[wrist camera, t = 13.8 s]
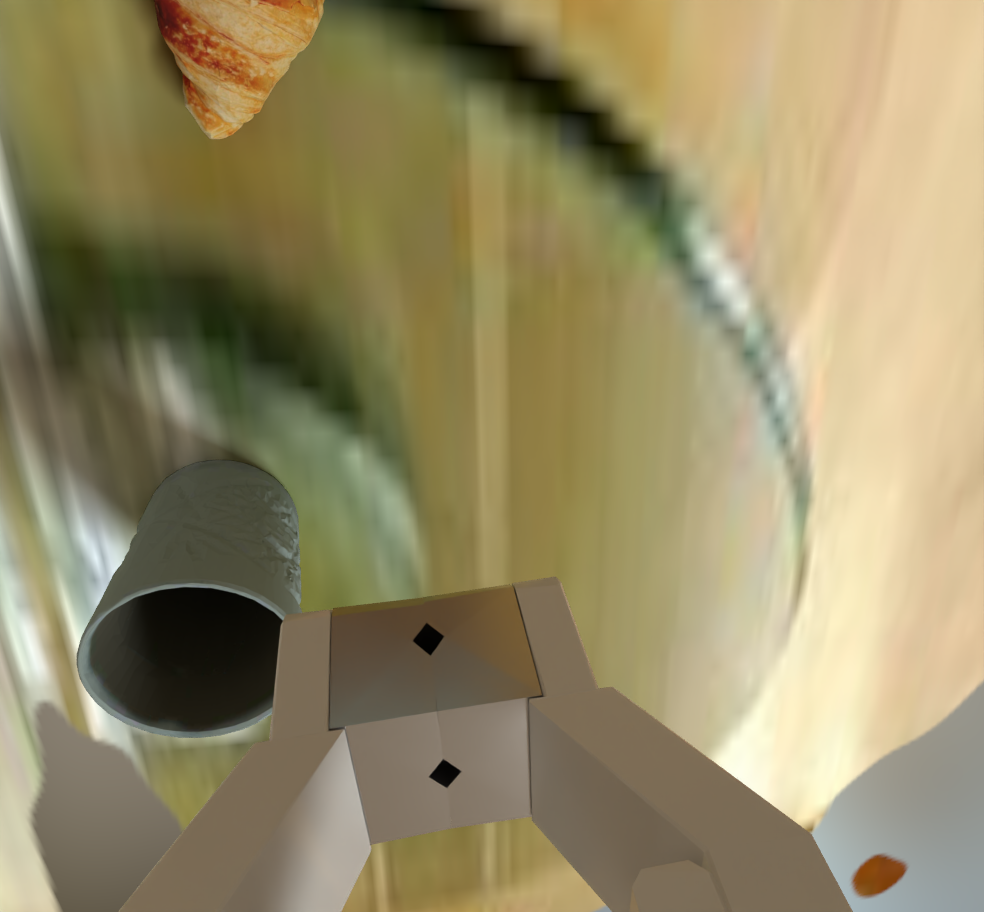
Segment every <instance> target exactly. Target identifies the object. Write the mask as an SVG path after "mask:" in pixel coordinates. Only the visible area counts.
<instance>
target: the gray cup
mask: <svg viewBox="0 0 984 912" xmlns="http://www.w3.org/2000/svg"><path fill="white" fill-rule="evenodd" d="M299 563H300V549H299V527H298V515H297V511H296V507H295V505H294V503H293V500H292V499H291V497H290V495H289V494H288V492H287V491H286V489H285V488H284V487H283V486H282V485H281V484H280V483H279V482H278V481H277V480H276V479H275V478H274V477H272V476H271V475H269V474H268V473H266V472H264V471H262V470H260V469H258V468H256V467H254V466H251V465H248V464H245V463H241V462H236V461H230V460H209V461H204V462H198V463H195V464H192V465H189V466H186V467H184V468H182V469H180V470H178V471H176V472H175V473H173V474H172V475H170V476H169V477H167V478H166V479H165V480H164V481H163V482H162V484H161V485H160V486H159V487H158V488H157V490H156V491H155V493H154V495H153V496H152V498H151V500H150V502H149V504H148V506H147V508H146V510H145V512H144V514H143V516H142V518H141V520H140V522H139V524H138V527H137V534H136V535H135V536H134V538H133V540H132V541H131V544H130V549H129V552H128V553H127V554H126V556H125V559H124V561H123V562H122V564H121V566H120V567H119V568H118V569H117V570H116V572H115V573H114V575H113V576H112V579H111V581H110V583H109V585H108V587H107V589H106V591H105V593H104V595H103V597H102V599H101V601H100V603H99V605H98V606H97V608H96V610H95V612H94V614H93V616H92V618H91V619H90V621H89V623H88V625H87V627H86V629H85V631H84V633H83V635H82V637H81V640H80V644H79V648H78V652H77V668H78V672H79V676H80V679H81V681H82V683H83V686H84V687H85V689H86V691H87V692H88V693H89V694H90V696H91V697H92V698H93V700H94V701H95V702H96V703H97V704H98V705H99V706H100V707H102V708H103V709H104V710H105V711H106V712H107V713H109V714H110V715H112V716H114V717H115V718H117V719H119V720H120V721H122V722H124V723H126V724H128V725H130V726H133V727H136V728H139V729H141V730H144V731H147V732H150V733H154V734H159V735H164V736H171V737H178V738H202V737H211V736H220V735H224V734H228V733H231V732H235V731H239V730H243V729H245V728H247V727H249V726H252V725H254V724H256V723H258V722H259V721H261V720H263V719H264V718H266V717H268V716H269V715H271V714H272V708H273V698H274V688H275V678H276V668H277V658H278V648H279V638H280V628H281V624H282V622H283V619H284V617H285V615H287V614H296V613H302V611H301V608H300V606H299V604H300V602H301V579H300V576H301V568H300V567H299Z"/></svg>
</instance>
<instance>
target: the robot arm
mask: <svg viewBox="0 0 984 912" xmlns="http://www.w3.org/2000/svg"><path fill="white" fill-rule="evenodd" d="M450 817H451V818H450ZM525 817H532V821H533V822H534V823H535V824H536V825H537V827H538V828H539V829H540V830H541V831H542V832H543V833H544V835H545V836H546V837H547V838H548V839H549V840H550V841H551V843H552V844H553V845H554V846H555V847H556V848H557V849H558V851H559V852H560V853H561V854H562V855H563V856H564V857H565V858H566V860H567V861H568V862H569V863H570V864H571V865H572V866H573V868H574V869H575V870H576V871H577V872H578V873H579V874H580V876H581V877H582V878H583V879H584V880H585V881H586V882H587V884H588V885H589V886H590V887H591V888H592V889H593V890H594V891H595V893H596V894H597V895H598V896H599V897H600V898H601V899H602V901H603V902H604V903H605V904H606V905H607V906H608V907H609V908H610V910H611V911H612V912H853V911H852V909H851V908H850V906H849V904H848V902H847V900H846V898H845V896H844V895H843V893H842V891H841V889H840V887H839V885H838V883H837V881H836V879H835V878H834V876H833V874H832V872H831V870H830V869H829V866H828V864H827V863H826V861H825V859H824V857H823V855H822V853H821V851H820V849H819V848H818V846H817V844H816V842H815V840H814V838H813V836H812V834H810V833H809V832H808V831H806V830H805V829H804V828H802V827H801V826H800V825H798V824H797V823H796V822H794V821H793V820H792V819H790V818H789V817H788V816H786V815H785V814H784V813H782V812H781V811H779V810H778V809H777V808H775V807H774V806H773V805H771V804H770V803H769V802H767V801H766V800H765V799H763V798H762V797H761V796H759V795H758V794H757V793H755V792H754V791H753V790H751V789H750V788H748V787H747V786H746V785H744V784H743V783H742V782H740V781H739V780H738V779H736V778H735V777H734V776H732V775H731V774H730V773H728V772H727V771H726V770H724V769H723V768H722V767H720V766H719V765H717V764H716V763H715V762H713V761H712V760H711V759H709V758H708V757H707V756H705V755H704V754H703V753H701V752H700V751H699V750H697V749H696V748H695V747H693V746H692V745H691V744H689V743H688V742H686V741H685V740H684V739H682V738H681V737H680V736H678V735H677V734H676V733H674V732H673V731H672V730H670V729H669V728H668V727H666V726H665V725H664V724H662V723H661V722H659V721H658V720H657V719H655V718H654V717H653V716H651V715H650V714H649V713H647V712H646V711H645V710H643V709H642V708H641V707H639V706H638V705H637V704H635V703H634V702H633V701H631V700H630V699H628V698H627V697H626V696H624V695H623V694H622V693H620V692H619V691H618V690H616V689H615V688H614V687H606V688H598V686H597V683H596V680H595V677H594V674H593V671H592V669H591V666H590V663H589V660H588V657H587V654H586V652H585V649H584V646H583V643H582V640H581V637H580V635H579V632H578V629H577V626H576V623H575V620H574V618H573V615H572V612H571V609H570V606H569V603H568V601H567V598H566V595H565V592H564V589H563V586H562V584H561V582H560V581H559V580H558V579H557V578H556V577H550V578H543V579H537V580H531V581H524V582H518V583H512V586H511V585H510V584H509V585H502V586H495V587H489V588H482V589H475V590H469V591H462V592H455V593H449V594H442V595H435V596H429V597H423V598H415V599H407V600H398V601H390V602H381V603H373V604H364V605H356V606H348V607H339V608H333V610H323V611H314V612H305V613H296V614H287V615H285V617H284V619H283V622H282V624H281V628H280V638H279V648H278V658H277V668H276V678H275V688H274V698H273V708H272V718H271V729H270V739H269V741H264V742H258V743H254V744H253V745H252V747H251V748H250V749H249V750H248V752H247V753H246V754H245V755H244V757H243V758H242V759H241V760H240V762H239V763H238V764H237V765H236V766H235V768H234V769H233V770H232V771H231V773H230V774H229V775H228V776H227V778H226V779H225V780H224V781H223V783H222V784H221V785H220V786H219V788H218V789H217V790H216V791H215V793H214V794H213V795H212V796H211V797H210V799H209V800H208V801H207V802H206V804H205V805H204V806H203V807H202V809H201V810H200V811H199V812H198V814H197V815H196V816H195V817H194V819H193V820H192V821H191V822H190V824H189V825H188V826H187V827H186V828H185V830H184V831H183V832H182V833H181V835H180V836H179V837H178V839H177V840H176V841H175V842H174V843H173V845H172V846H171V847H170V849H169V850H168V851H167V852H166V853H165V854H164V856H163V857H162V858H161V860H160V861H159V862H158V863H157V864H156V866H155V867H154V868H153V870H152V871H151V872H150V873H149V874H148V876H147V877H146V878H145V879H144V881H143V882H142V883H141V884H140V885H139V887H138V888H137V889H136V890H135V892H134V893H133V894H132V895H131V897H130V898H129V899H128V900H127V902H126V903H125V904H124V905H123V907H122V908H121V909H120V910H119V912H341V911H342V909H343V907H344V905H345V903H346V901H347V899H348V897H349V894H350V892H351V890H352V888H353V886H354V884H355V882H356V880H357V878H358V876H359V874H360V872H361V870H362V868H363V866H364V864H365V862H366V860H367V858H368V856H369V854H370V852H371V846H370V845H372V844H376V843H381V842H386V841H391V840H396V839H401V838H406V837H411V836H416V835H421V834H426V833H431V832H435V831H440V830H445V829H450V828H457V827H464V826H470V825H477V824H484V823H491V822H498V821H505V820H511V819H518V818H525ZM451 824H452V827H451Z"/></svg>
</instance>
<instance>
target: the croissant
mask: <svg viewBox="0 0 984 912" xmlns="http://www.w3.org/2000/svg"><path fill="white" fill-rule="evenodd" d="M324 1H325V0H154V2H155V8H156V14H157V20H158V26H159V28H160V31H161V33H162V35H163V38H164V39H165V41H166V43H167V45H168V46H169V48H170V49H171V51H172V52H173V53H174V56H175V60H176V64H177V66H178V67H179V68H180V70H181V71H182V72H183V93H184V96H185V106H186V107H187V109H188V110H189V111H190V113H191V114H192V115H193V117H194V118H195V120H196V121H197V123H198V124H199V126H200V128H201V130H202V131H203V132H204V133H205V134H206V135H207V136H208V137H209V138H210V139H222V138H226V137H228V136H230V135H232V134H234V133H235V132H236V131H237V130H238V129H239V128H241V126H242V125H243V123H245V122H248V121H250V120H251V119H252V118H253V117H254V114H256V113H258V112H260V110H261V108H262V106H263V104H264V102H265V100H266V99H267V97H268V96H269V94H270V92H271V91H272V89H273V87H274V86H275V84H276V83H277V81H278V80H279V79H280V78H281V77H282V76H283V75H284V74H285V73H286V72H287V70H288V69H289V66H290V62H291V61H292V60H293V59H295V57H296V56H297V53H298V52H301V51H303V50H304V49H305V48H306V47H307V46H308V45H309V43H310V41H311V39H312V37H313V35H314V33H315V31H316V29H317V27H318V24H319V22H320V19H321V17H322V15H323V3H324Z"/></svg>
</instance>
